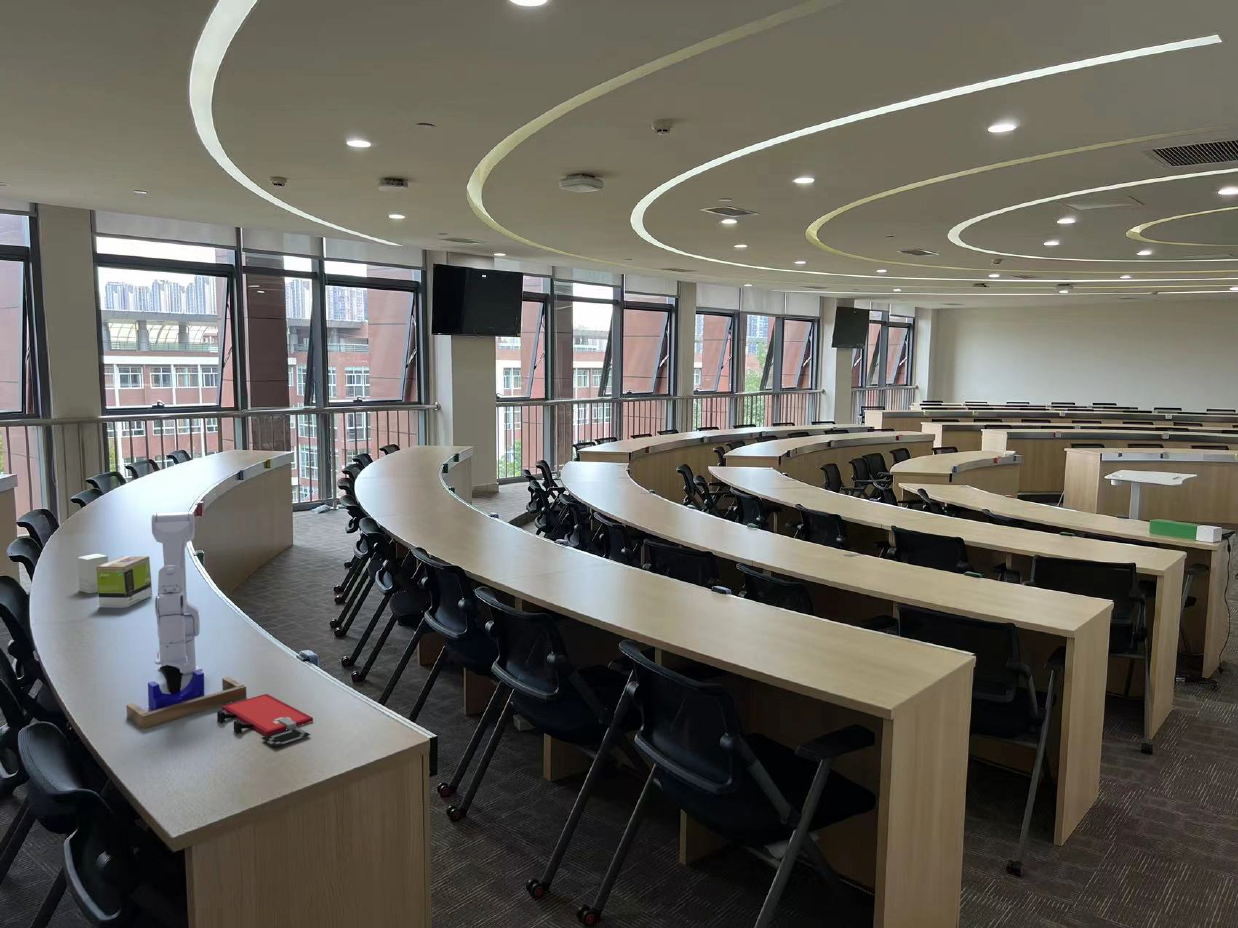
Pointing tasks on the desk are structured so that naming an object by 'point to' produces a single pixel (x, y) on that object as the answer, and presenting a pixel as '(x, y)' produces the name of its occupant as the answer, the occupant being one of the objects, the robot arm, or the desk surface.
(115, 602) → the tea box
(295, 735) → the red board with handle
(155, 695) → the blue curved bracket
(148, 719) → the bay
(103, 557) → the supplement box
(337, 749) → the desk surface
